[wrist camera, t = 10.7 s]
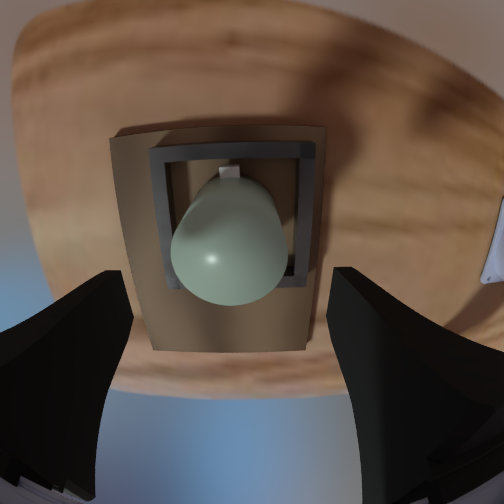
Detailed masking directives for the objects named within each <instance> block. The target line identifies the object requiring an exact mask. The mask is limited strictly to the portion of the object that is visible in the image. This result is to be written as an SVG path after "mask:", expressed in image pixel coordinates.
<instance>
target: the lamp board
mask: <svg viewBox="0 0 504 504" xmlns="http://www.w3.org/2000/svg"><path fill="white" fill-rule="evenodd" d="M325 136H326V127H317V126H295V125H232V126H211V127H195V128H183V129H172V130H163V131H154V132H146V133H139V134H132V135H125V136H119V137H113V138H109V141H110V151H111V160H112V169H113V176H114V184H115V191H116V197H117V203H118V209H119V215H120V221H121V226H122V231H123V237H124V241H125V246H126V251H127V256H128V260H129V264H130V269H131V273H132V277H133V281H134V285H135V289H136V293H137V297H138V300H139V304H140V308H141V311H142V315H143V318H144V322H145V325H146V328H147V332H148V335H149V338H150V341H151V344H152V347H153V350H161V351H180V352H218V353H240V352H279V351H298V350H306V343H307V336H308V330H309V323H310V315H311V308H312V300H313V292H314V284H315V275H316V266H317V256H318V246H319V235H320V224H321V211H322V197H323V181H324V162H325ZM236 140H297V141H312V142H314V143H316V158H315V181H314V200H313V215H312V230H311V243H310V255H309V266H308V276H307V286H306V287H294V288H274V289H273V290H272V291H271V292H269V293H268V294H267V295H265V296H264V297H262V298H260V299H258V300H256V301H254V302H251V303H247V304H243V305H235V306H226V305H219V304H214V303H211V302H208V301H205V300H203V299H201V298H199V297H197V296H196V295H194V294H193V293H192V292H190V291H189V290H188V289H168V287H167V282H166V276H165V271H164V265H163V260H162V254H161V248H160V242H159V235H158V229H157V222H156V214H155V207H154V199H153V191H152V182H151V173H150V162H149V151H148V149H149V148H152V147H154V146H160V145H170V144H181V143H195V142H211V141H236ZM170 164H171V176H172V187H173V197H174V206H175V215H176V224H177V227H178V226H179V224H180V222H181V220H182V218H183V217H184V215H185V213H186V211H187V210H188V208H189V206H190V205H191V203H192V201H193V199H194V198H195V196H196V194H197V193H198V191H199V190H200V189H201V188H202V187H203V186H204V185H205V184H206V183H207V182H208V181H210V180H212V179H213V178H216V177H218V176H220V173H219V167H220V165H235V164H239V166H240V174H242V175H246V176H249V177H251V178H254V179H255V180H257V181H259V182H260V183H261V184H263V185H264V186H265V187H266V188H267V189H268V191H269V192H270V194H271V195H272V197H273V199H274V202H275V205H276V208H277V212H278V215H279V219H280V222H281V226H282V229H283V233H284V236H285V240H286V244H287V248H288V261H287V266H292V248H293V228H294V205H295V176H296V158H235V159H209V160H192V161H177V162H170Z"/></svg>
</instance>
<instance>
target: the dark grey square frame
mask: <svg viewBox="0 0 504 504" xmlns="http://www.w3.org/2000/svg"><path fill="white" fill-rule="evenodd" d="M148 151H149V162H150V173H151V182H152V191H153V199H154V207H155V214H156V222H157V229H158V235H159V242H160V248H161V254H162V260H163V265H164V271H165V276H166V282H167V287H168V289H187V288H186V287H185V286H184V285H183V284H182V283H181V281H180V280H179V278H178V277H177V275H176V273H175V271H174V268H173V265H172V261H171V243H172V239H173V236H174V233H175V231H176V229H177V224H176V215H175V206H174V197H173V187H172V176H171V164H170V162H177V161H192V160H209V159H235V158H296V176H295V205H294V228H293V248H292V266H286V270H285V272H284V275H283V277H282V278H281V280H280V282H279V283H278V284H277V286H276V287H275V288H294V287H306V286H307V276H308V266H309V255H310V243H311V230H312V215H313V200H314V181H315V158H316V143H314V142H312V141H297V140H236V141H211V142H195V143H181V144H170V145H160V146H154V147H152V148H149V149H148Z"/></svg>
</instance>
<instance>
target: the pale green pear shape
mask: <svg viewBox="0 0 504 504" xmlns="http://www.w3.org/2000/svg"><path fill="white" fill-rule="evenodd" d="M219 173H220V176H218V177H216V178H213V179H212V180H210V181H208V182H207V183H206V184H205V185H204V186H203V187H202V188H201V189H200V190H199V191H198V193H197V194H196V196H195V198H194V199H193V201H192V203H191V205H190V206H189V208H188V210H187V211H186V213H185V215H184V217H183V218H182V220H181V222H180V224H179V226H178V227H177V229H176V231H175V233H174V236H173V239H172V243H171V261H172V265H173V268H174V271H175V273H176V275H177V277H178V278H179V280H180V281H181V283H182V284H183V285H184V286H185V287H186V288H187V289H188V290H189V291H190V292H192V293H193V294H194V295H196V296H197V297H199V298H201V299H203V300H205V301H208V302H211V303H214V304H219V305H226V306H235V305H243V304H247V303H251V302H254V301H256V300H258V299H260V298H262V297H264V296H265V295H267V294H268V293H269V292H271V291H272V290H273V289H274V288H275V287H276V286H277V284H278V283H279V282H280V280H281V278H282V277H283V275H284V272H285V270H286V266H287V261H288V248H287V244H286V240H285V236H284V233H283V229H282V226H281V222H280V219H279V215H278V212H277V208H276V205H275V202H274V199H273V197H272V195H271V194H270V192H269V191H268V189H267V188H266V187H265V186H264V185H263V184H261V183H260V182H259V181H257V180H255V179H254V178H251V177H249V176H246V175H242V174H240V166H239V164H235V165H220V167H219Z"/></svg>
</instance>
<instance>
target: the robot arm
mask: <svg viewBox="0 0 504 504" xmlns="http://www.w3.org/2000/svg"><path fill="white" fill-rule="evenodd" d="M480 281H481V282H482V283H483V284H486V283H493V282H500V281H504V199H503V200H502V204H501V209H500V213H499V218H498V222H497V226H496V229H495V233H494V237H493V240H492V244H491V247H490V251H489V254H488V257H487V260H486V263H485V266H484V269H483V272H482V275H481V278H480ZM133 318H134V316H133V312H132V309H131V306H130V302H129V299H128V295H127V292H126V288H125V285H124V281H123V277H122V273H121V270H106V271H104V272H101V273H100V274H98V275H96V276H94V277H93V278H91V279H89V280H88V281H86V282H85V283H83V284H82V285H80V286H79V287H77V288H76V289H74V290H73V291H71V292H70V293H68V294H67V295H65V296H64V297H62V298H61V299H59V300H57V301H56V302H54V303H53V304H51V305H50V306H48V307H47V308H45V309H43V310H42V311H40V312H39V313H37V314H35V315H34V316H32V317H30V318H29V319H27V320H25V321H23V322H21V323H19V324H17V325H16V326H14V327H12V328H9V329H7V330H5V331H3V332H1V333H0V504H82V503H79V502H77V501H74V500H71V499H69V498H66V497H64V496H62V495H59V494H57V493H55V492H53V491H51V490H52V489H53V490H55V491H58V492H60V493H63V492H64V493H66V494H68V495H71V496H74V497H76V498H79V499H81V500H84V501H91V500H93V499H94V498H95V462H96V449H97V441H98V434H99V428H100V421H101V417H102V412H103V408H104V403H105V399H106V396H107V393H108V389H109V387H110V384H111V382H112V379H113V376H114V374H115V371H116V369H117V366H118V364H119V361H120V359H121V356H122V354H123V351H124V349H125V346H126V344H127V341H128V338H129V334H130V331H131V326H132V322H133ZM326 318H327V323H328V328H329V333H330V337H331V341H332V344H333V347H334V350H335V353H336V356H337V359H338V362H339V365H340V368H341V371H342V374H343V377H344V380H345V383H346V386H347V389H348V392H349V395H350V399H351V403H352V407H353V412H354V418H355V424H356V429H357V437H358V444H359V451H360V461H361V473H362V496H363V497H362V498H363V501H362V504H504V352H502V351H499V350H496V349H493V348H490V347H487V346H484V345H481V344H479V343H476V342H474V341H471V340H469V339H467V338H464V337H462V336H460V335H458V334H455V333H453V332H451V331H449V330H447V329H445V328H443V327H442V326H440V325H438V324H436V323H434V322H432V321H431V320H429V319H427V318H425V317H424V316H422V315H420V314H419V313H417V312H416V311H414V310H413V309H411V308H410V307H408V306H406V305H405V304H403V303H402V302H401V301H399V300H398V299H396V298H395V297H393V296H392V295H391V294H389V293H388V292H386V291H385V290H384V289H382V288H381V287H380V286H378V285H377V284H375V283H374V282H373V281H371V280H370V279H369V278H367V277H366V276H364V275H363V274H362V273H360V272H359V271H357V270H356V269H354V268H352V267H334V269H333V276H332V283H331V289H330V296H329V302H328V308H327V314H326Z"/></svg>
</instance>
